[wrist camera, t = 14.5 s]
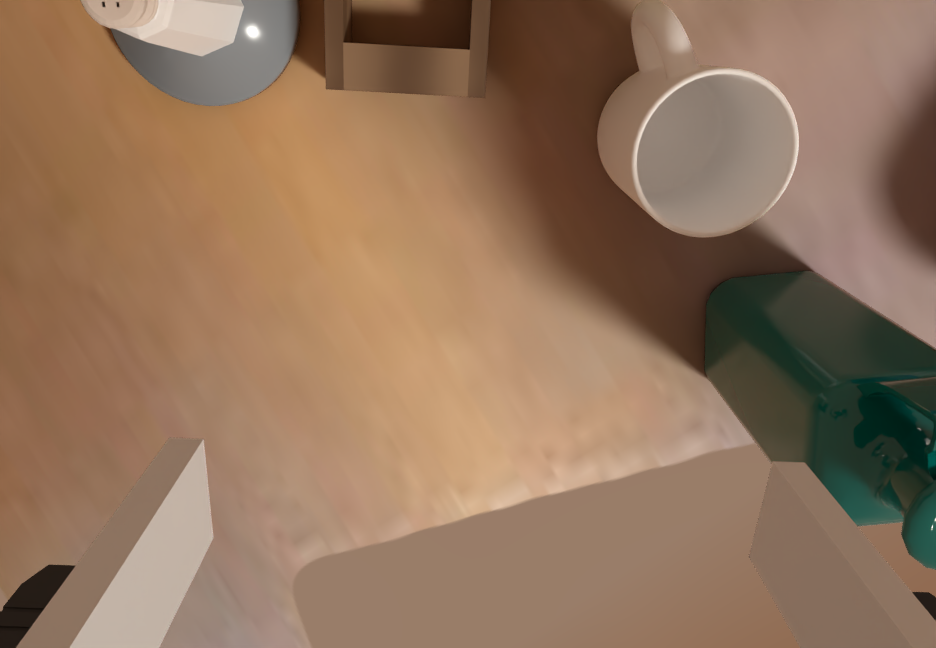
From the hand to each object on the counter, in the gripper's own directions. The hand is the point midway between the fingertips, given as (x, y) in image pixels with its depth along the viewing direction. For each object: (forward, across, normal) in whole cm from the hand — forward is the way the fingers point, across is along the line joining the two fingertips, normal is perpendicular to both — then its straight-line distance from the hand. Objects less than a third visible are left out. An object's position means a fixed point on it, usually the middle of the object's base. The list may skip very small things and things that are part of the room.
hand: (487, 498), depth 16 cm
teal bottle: (+32, +21, -7) cm, 39 cm away
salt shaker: (+31, -16, +11) cm, 37 cm away
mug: (+32, +11, +7) cm, 34 cm away
